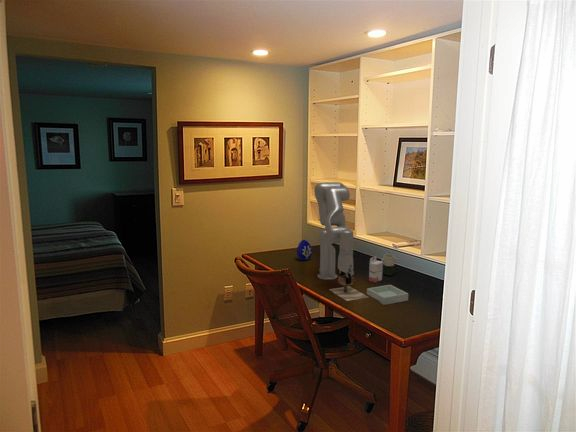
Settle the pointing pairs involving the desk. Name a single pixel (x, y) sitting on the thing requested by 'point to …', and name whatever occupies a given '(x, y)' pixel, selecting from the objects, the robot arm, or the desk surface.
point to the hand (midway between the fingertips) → (345, 281)
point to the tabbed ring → (344, 280)
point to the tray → (387, 294)
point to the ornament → (304, 250)
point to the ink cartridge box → (375, 270)
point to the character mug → (388, 263)
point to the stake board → (348, 293)
